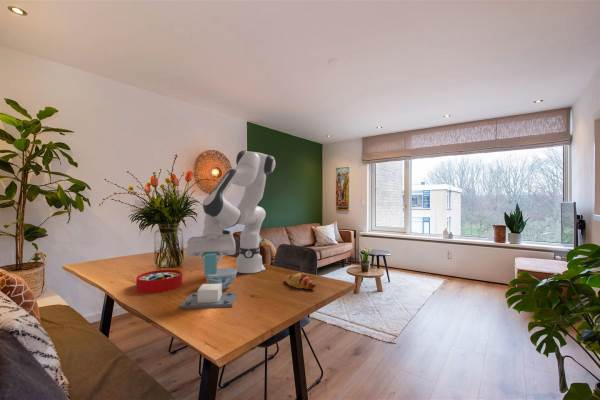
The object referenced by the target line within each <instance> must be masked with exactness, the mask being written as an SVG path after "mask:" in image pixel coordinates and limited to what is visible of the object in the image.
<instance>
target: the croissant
mask: <svg viewBox="0 0 600 400" xmlns="http://www.w3.org/2000/svg"><path fill="white" fill-rule="evenodd" d="M284 279H285V282H286V283H287V285H289V287H292V286H293V287H292V288H295V287H296V288H295V289H303V288H304V290H312V289H314V288H316V283H314V281H313V280H311V277H310V276H308V275H307V274H306V273H304V272H299V273H291V274H288V275H286V276H285V278H284Z"/></svg>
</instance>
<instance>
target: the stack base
mask: <svg viewBox="0 0 600 400" xmlns="http://www.w3.org/2000/svg"><path fill="white" fill-rule="evenodd" d="M222 291H223V289H222V284H209V283H202V285H200V287H199V288H198V289H197V292H193V293H189V295H188V296H187V297H186V298H185V299H184V300H183V302H182V303H181V304H180V305H179V309H180V310H183V309H206V308H208V309H209V308H232V307H233V306H234V304H235V301H236V298H237V295H238V294H237V292H233V291H228V292H222Z"/></svg>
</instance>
